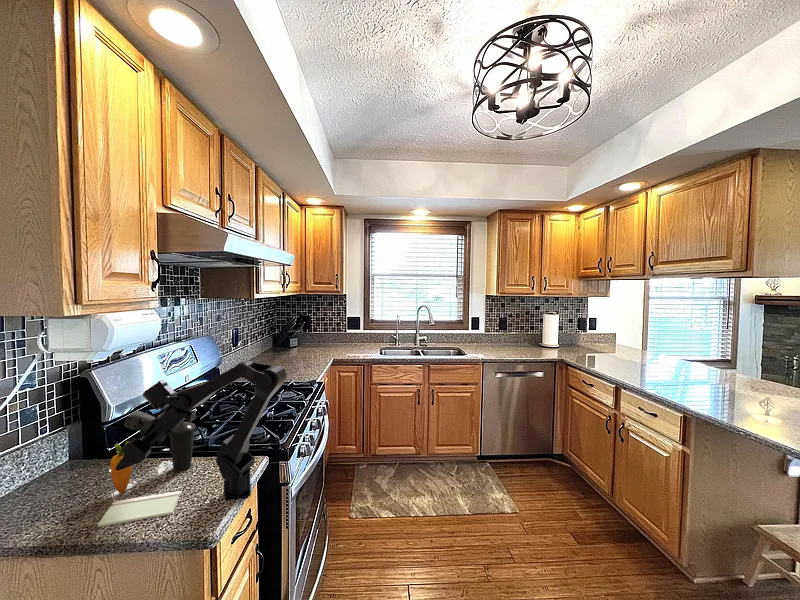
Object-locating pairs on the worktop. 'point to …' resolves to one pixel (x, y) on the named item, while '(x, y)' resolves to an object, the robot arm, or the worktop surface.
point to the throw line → (146, 498)
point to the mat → (139, 510)
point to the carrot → (120, 471)
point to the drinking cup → (182, 446)
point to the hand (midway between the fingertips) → (125, 461)
